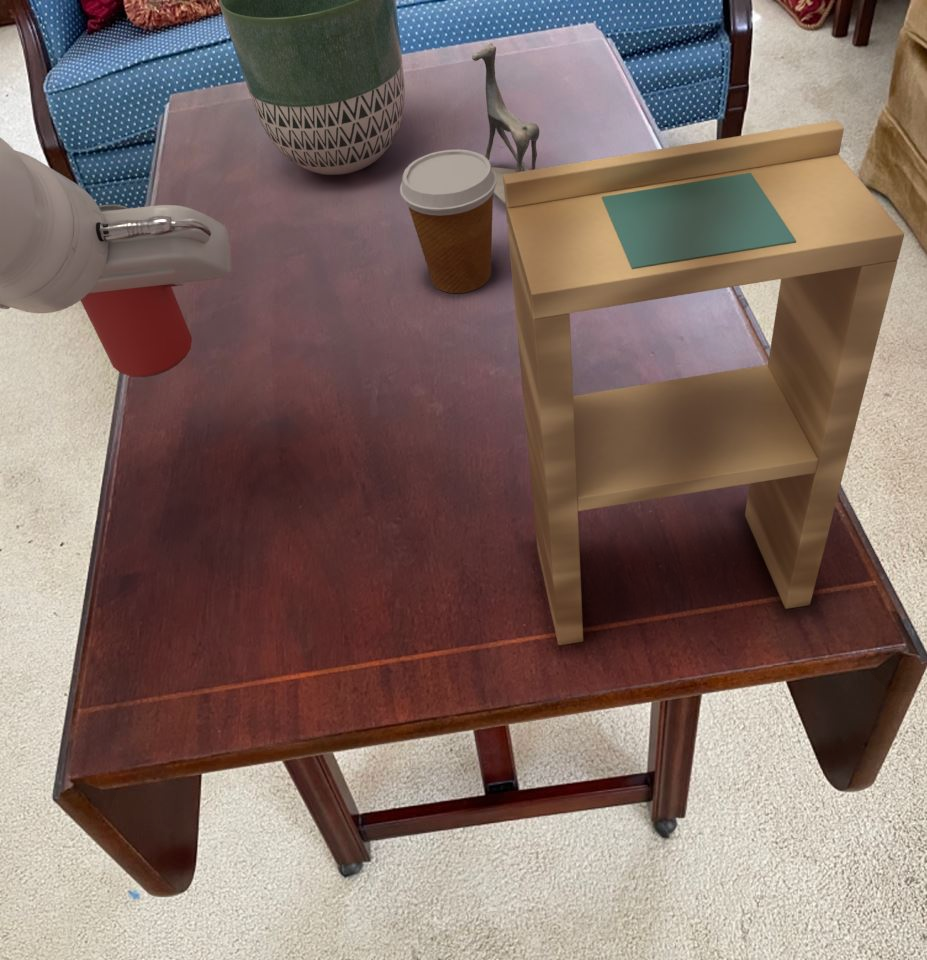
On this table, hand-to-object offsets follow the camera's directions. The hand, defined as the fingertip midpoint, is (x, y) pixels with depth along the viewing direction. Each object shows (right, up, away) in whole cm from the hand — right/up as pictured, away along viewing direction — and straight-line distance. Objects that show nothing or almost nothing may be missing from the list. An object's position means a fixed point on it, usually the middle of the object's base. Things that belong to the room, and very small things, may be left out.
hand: (125, 281), depth 72 cm
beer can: (+1, -5, +4) cm, 7 cm away
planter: (+11, +25, +48) cm, 55 cm away
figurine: (+32, +20, +40) cm, 55 cm away
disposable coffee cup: (+26, +6, +28) cm, 38 cm away
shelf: (+41, -22, -2) cm, 47 cm away
